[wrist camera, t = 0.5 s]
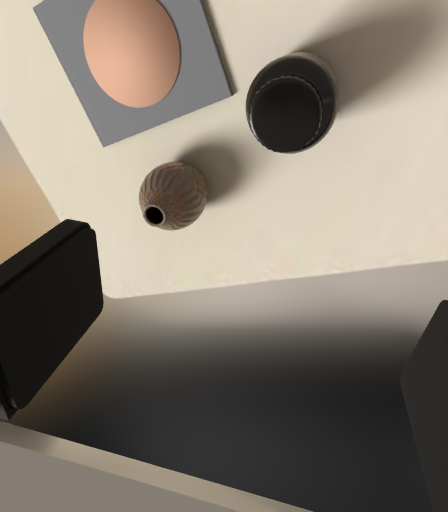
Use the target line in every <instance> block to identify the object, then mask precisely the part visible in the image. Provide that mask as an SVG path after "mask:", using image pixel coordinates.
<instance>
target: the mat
mask: <svg viewBox="0 0 448 512" xmlns="http://www.w3.org/2000/svg"><path fill="white" fill-rule="evenodd" d="M33 10H34V12H35V14H36V16H37V18H38V20H39V22H40V24H41V26H42V28H43V29H44V31H45V33H46V35H47V37H48V39H49V41H50V43H51V45H52V47H53V49H54V51H55V53H56V55H57V57H58V59H59V61H60V63H61V65H62V67H63V69H64V71H65V73H66V75H67V77H68V79H69V81H70V83H71V85H72V86H73V88H74V90H75V92H76V94H77V96H78V98H79V100H80V102H81V104H82V106H83V108H84V110H85V112H86V114H87V116H88V118H89V120H90V122H91V124H92V126H93V128H94V130H95V132H96V134H97V136H98V138H99V140H100V142H101V144H102V145H103V147H105V146H108V145H110V144H113V143H115V142H118V141H120V140H123V139H125V138H128V137H130V136H133V135H135V134H138V133H140V132H143V131H145V130H148V129H150V128H153V127H155V126H158V125H160V124H163V123H165V122H168V121H170V120H173V119H175V118H178V117H180V116H183V115H185V114H188V113H190V112H193V111H195V110H198V109H200V108H203V107H205V106H208V105H210V104H213V103H215V102H218V101H220V100H223V99H225V98H228V97H230V96H232V92H231V89H230V86H229V83H228V80H227V77H226V74H225V70H224V67H223V64H222V61H221V58H220V55H219V52H218V49H217V46H216V43H215V40H214V37H213V34H212V31H211V28H210V25H209V22H208V19H207V16H206V13H205V10H204V7H203V4H202V1H201V0H44V1H42V2H41V3H39V4H38V5H36V6H35V7H33Z"/></svg>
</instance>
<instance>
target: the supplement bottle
mask: <svg viewBox="0 0 448 512" xmlns="http://www.w3.org/2000/svg"><path fill="white" fill-rule="evenodd" d="M337 110H338V88H337V81H336V77H335V74H334V72H333V70H332V68H331V67H330V65H329V64H328V63H327V62H326V61H325V60H324V59H323V58H321V57H320V56H318V55H316V54H313V53H309V52H296V53H291V54H289V55H286V56H283V57H280V58H278V59H276V60H274V61H272V62H270V63H269V64H267V65H266V66H265V67H264V68H263V69H262V70H261V71H260V72H259V73H258V74H257V76H256V77H255V78H254V80H253V82H252V84H251V86H250V88H249V91H248V94H247V99H246V116H247V121H248V124H249V127H250V129H251V131H252V133H253V134H254V136H255V137H256V138H257V140H258V141H259V142H260V143H261V144H262V146H265V147H266V148H267V149H269V150H272V151H274V152H279V153H286V154H292V153H299V152H302V151H305V150H308V149H310V148H312V147H313V146H315V145H316V144H318V143H319V142H320V141H321V140H322V139H323V138H324V137H325V136H326V135H327V133H328V132H329V130H330V129H331V127H332V125H333V123H334V120H335V117H336V114H337Z"/></svg>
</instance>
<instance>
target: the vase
mask: <svg viewBox="0 0 448 512" xmlns="http://www.w3.org/2000/svg"><path fill="white" fill-rule="evenodd" d="M206 201H207V187H206V184H205V181H204V179H203V177H202V176H201V174H200V173H199V172H198V171H197V170H196V169H195V168H193V167H192V166H190V165H188V164H185V163H181V162H169V163H165V164H162V165H160V166H158V167H156V168H155V169H153V170H152V171H151V172H150V173H149V174H148V175H147V176H146V178H145V179H144V181H143V183H142V185H141V188H140V193H139V203H140V207H141V210H142V212H143V217H144V219H145V221H146V222H147V223H148V224H149V225H151V226H154V227H158V228H161V229H164V230H178V229H182V228H185V227H187V226H189V225H190V224H192V223H193V222H195V221H196V220H197V219H198V217H199V216H200V215H201V213H202V212H203V210H204V208H205V205H206Z"/></svg>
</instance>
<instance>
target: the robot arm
mask: <svg viewBox="0 0 448 512" xmlns="http://www.w3.org/2000/svg"><path fill="white" fill-rule="evenodd" d="M102 308H103V294H102V285H101V276H100V267H99V258H98V250H97V241H96V233H95V231H94V230H93V229H91V227H90V225H89V224H88V223H86V222H81V221H76V220H71V219H66V220H64V221H63V222H61V223H60V224H58V225H57V226H55V227H54V228H53V229H51V230H50V231H48V232H47V233H45V234H44V235H43V236H41V237H40V238H38V239H37V240H36V241H34V242H33V243H31V244H30V245H28V246H27V247H25V248H24V249H22V250H21V251H19V252H18V253H17V254H15V255H14V256H12V257H11V258H10V259H8V260H7V261H5V262H4V263H2V264H1V265H0V418H1V419H4V420H8V421H9V420H10V419H11V417H12V416H13V415H14V414H15V412H16V411H17V410H18V409H22V408H24V407H25V406H26V405H27V404H28V403H29V402H30V401H31V400H32V398H33V397H34V396H35V395H36V393H37V392H38V391H39V390H40V388H41V387H42V386H43V385H44V383H45V382H46V381H47V380H48V378H49V377H50V376H51V375H52V373H53V372H54V371H55V370H56V368H57V367H58V366H59V365H60V363H61V362H62V361H63V360H64V358H65V357H66V356H67V354H68V353H69V352H70V351H71V350H72V348H73V347H74V346H75V345H76V343H77V342H78V340H80V338H81V337H82V336H83V335H84V333H85V332H86V331H87V329H88V328H89V327H90V326H91V324H92V323H93V322H94V321H95V320H96V318H97V317H98V316H99V314H100V313H101V311H102ZM400 382H401V388H402V391H403V396H404V399H405V403H406V407H407V411H408V415H409V419H410V423H411V426H412V430H413V434H414V438H415V442H416V446H417V450H418V453H419V457H420V461H421V465H422V469H423V473H424V477H425V480H426V484H427V488H428V492H429V495H430V500H431V503H432V507H433V511H434V512H448V300H443V301H442V302H441V303H440V304H439V306H438V308H437V310H436V311H435V313H434V315H433V317H432V319H431V320H430V322H429V324H428V326H427V328H426V329H425V331H424V333H423V335H422V336H421V338H420V340H419V342H418V344H417V346H416V347H415V349H414V351H413V353H412V355H411V356H410V358H409V360H408V362H407V363H406V365H405V367H404V369H403V371H402V373H401V381H400ZM0 512H312V511H308V510H305V509H302V508H298V507H295V506H292V505H288V504H285V503H281V502H278V501H275V500H271V499H268V498H264V497H261V496H258V495H254V494H251V493H247V492H244V491H240V490H237V489H234V488H230V487H227V486H223V485H220V484H216V483H213V482H210V481H206V480H203V479H199V478H196V477H193V476H189V475H186V474H182V473H179V472H175V471H172V470H168V469H165V468H161V467H158V466H155V465H151V464H148V463H144V462H140V461H137V460H134V459H130V458H127V457H124V456H120V455H116V454H113V453H110V452H106V451H103V450H99V449H96V448H92V447H89V446H85V445H82V444H78V443H75V442H71V441H67V440H64V439H61V438H57V437H53V436H50V435H47V434H43V433H40V432H36V431H32V430H29V429H25V428H22V427H19V426H15V425H11V424H8V423H5V422H1V421H0Z"/></svg>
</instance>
